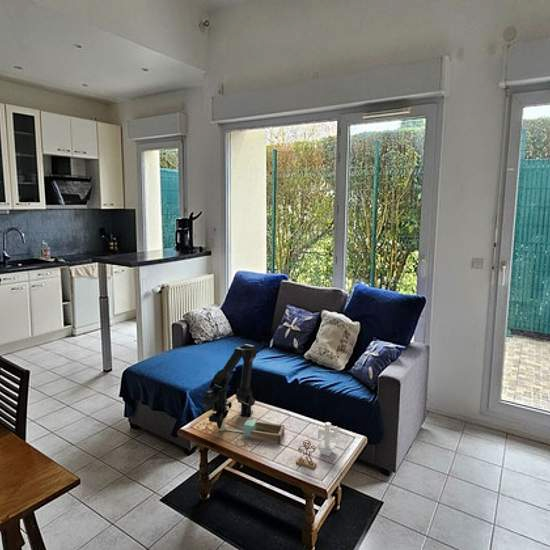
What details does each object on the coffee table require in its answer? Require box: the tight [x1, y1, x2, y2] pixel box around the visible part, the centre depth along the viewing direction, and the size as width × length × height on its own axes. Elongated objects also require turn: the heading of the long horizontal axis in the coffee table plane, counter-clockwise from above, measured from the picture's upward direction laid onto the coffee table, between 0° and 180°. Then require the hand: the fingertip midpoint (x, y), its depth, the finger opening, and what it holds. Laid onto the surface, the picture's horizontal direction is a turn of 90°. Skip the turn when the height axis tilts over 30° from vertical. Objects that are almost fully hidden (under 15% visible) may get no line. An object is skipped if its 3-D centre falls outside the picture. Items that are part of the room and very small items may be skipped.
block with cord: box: [218, 418, 257, 438], centre depth 216 cm, size 5×19×6 cm, turn 76°
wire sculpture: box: [295, 439, 317, 471], centre depth 190 cm, size 9×4×12 cm, turn 63°
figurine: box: [316, 421, 338, 457], centre depth 199 cm, size 7×9×15 cm
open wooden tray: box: [250, 420, 285, 445], centre depth 213 cm, size 10×15×4 cm
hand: (220, 426), depth 218 cm, fingers closed on block with cord, 3 cm apart
